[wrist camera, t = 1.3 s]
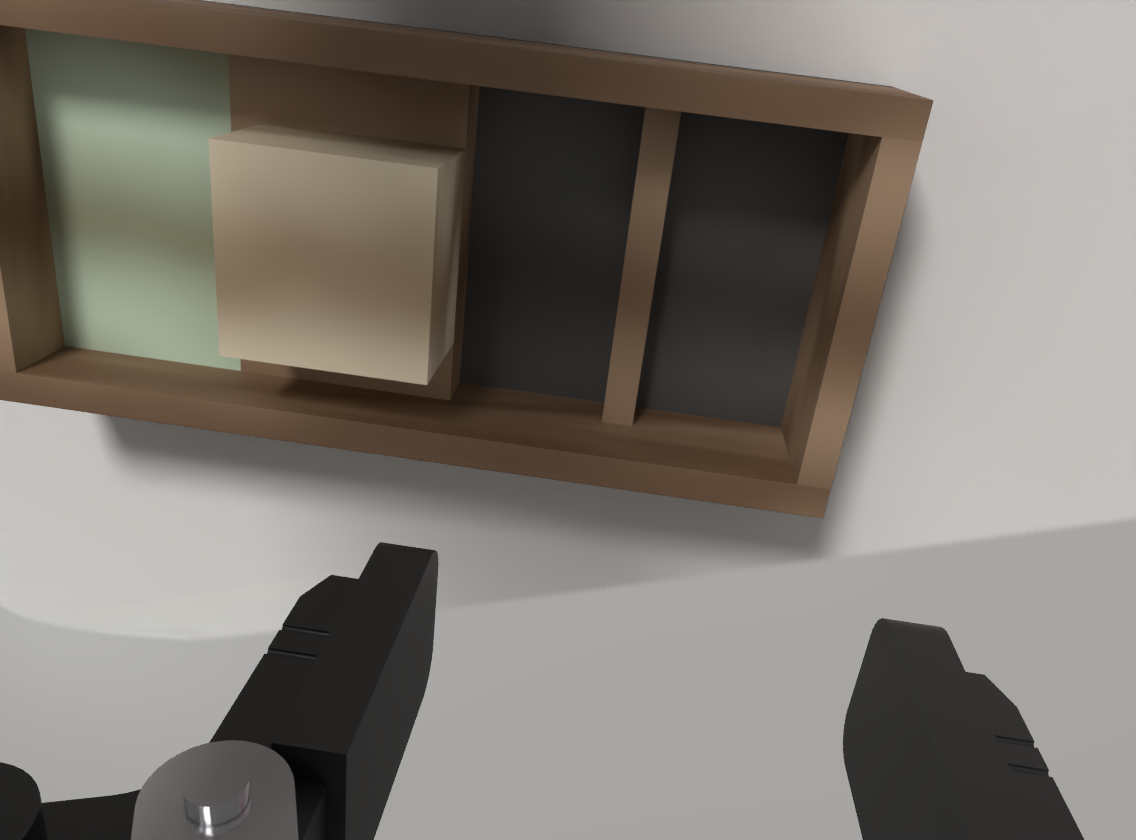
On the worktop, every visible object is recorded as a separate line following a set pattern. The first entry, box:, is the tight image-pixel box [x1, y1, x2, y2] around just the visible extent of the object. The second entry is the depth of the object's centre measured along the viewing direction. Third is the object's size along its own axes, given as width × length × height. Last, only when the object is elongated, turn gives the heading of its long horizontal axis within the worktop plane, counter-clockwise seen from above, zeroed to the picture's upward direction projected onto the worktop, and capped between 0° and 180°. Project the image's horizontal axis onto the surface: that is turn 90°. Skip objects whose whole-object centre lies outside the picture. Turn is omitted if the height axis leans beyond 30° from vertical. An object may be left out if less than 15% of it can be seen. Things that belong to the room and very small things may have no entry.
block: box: [208, 123, 466, 385], centre depth 26 cm, size 6×6×4 cm
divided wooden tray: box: [0, 0, 933, 518], centre depth 28 cm, size 12×26×4 cm, turn 84°
